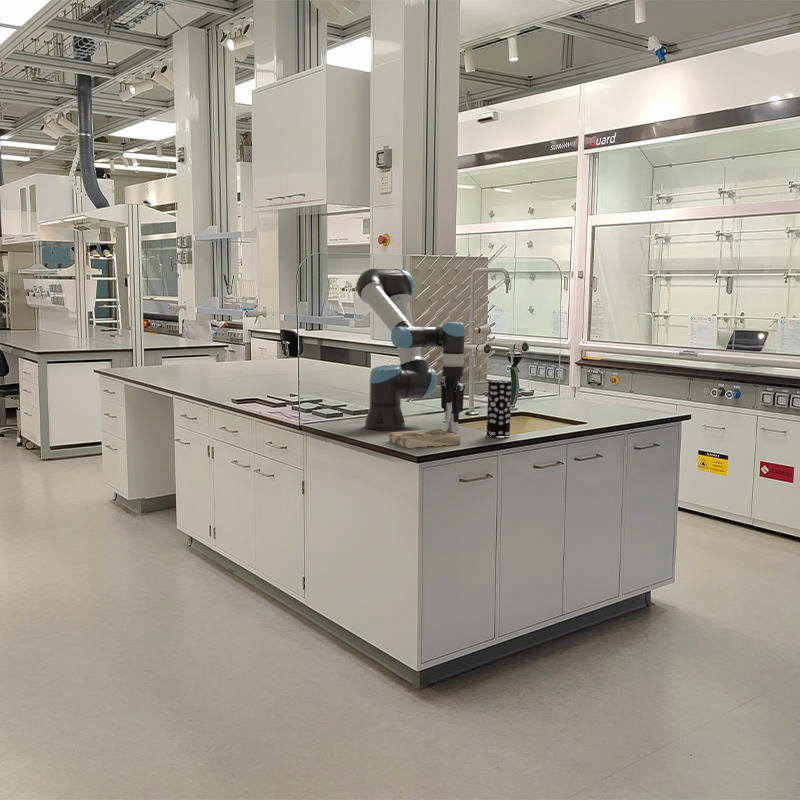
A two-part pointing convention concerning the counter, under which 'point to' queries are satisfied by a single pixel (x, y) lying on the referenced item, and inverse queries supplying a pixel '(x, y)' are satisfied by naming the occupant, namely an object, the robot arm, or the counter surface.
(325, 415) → the counter surface
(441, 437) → the hole block
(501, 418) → the spotted tube
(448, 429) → the peg
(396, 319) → the robot arm
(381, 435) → the counter surface
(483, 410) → the counter surface
